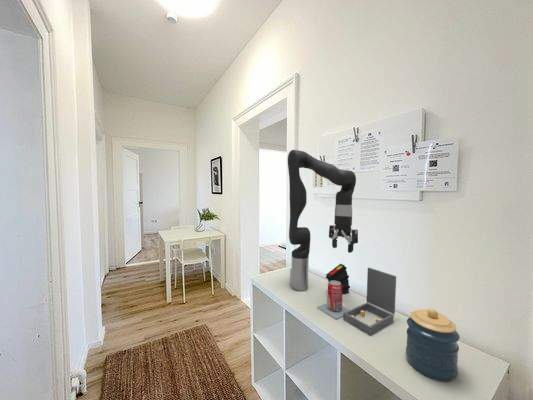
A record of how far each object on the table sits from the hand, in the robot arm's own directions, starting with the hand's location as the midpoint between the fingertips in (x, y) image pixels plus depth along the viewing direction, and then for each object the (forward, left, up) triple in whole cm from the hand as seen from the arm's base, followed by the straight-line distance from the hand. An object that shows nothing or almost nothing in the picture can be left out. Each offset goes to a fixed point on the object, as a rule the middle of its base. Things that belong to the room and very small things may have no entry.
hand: (342, 250), depth 102 cm
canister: (+37, -4, -27) cm, 46 cm away
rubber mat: (0, -4, -27) cm, 27 cm away
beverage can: (0, -5, -26) cm, 27 cm away
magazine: (-10, +10, -27) cm, 30 cm away
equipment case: (+13, +1, -27) cm, 30 cm away
